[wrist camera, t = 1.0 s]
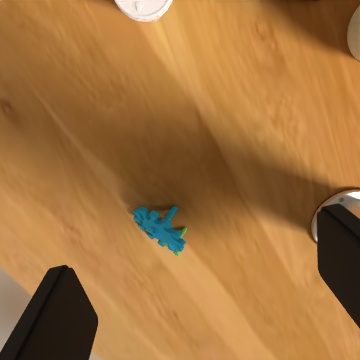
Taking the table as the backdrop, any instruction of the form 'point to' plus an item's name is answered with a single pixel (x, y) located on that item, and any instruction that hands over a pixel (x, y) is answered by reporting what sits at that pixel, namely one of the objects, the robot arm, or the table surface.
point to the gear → (161, 228)
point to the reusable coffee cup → (354, 34)
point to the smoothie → (144, 9)
